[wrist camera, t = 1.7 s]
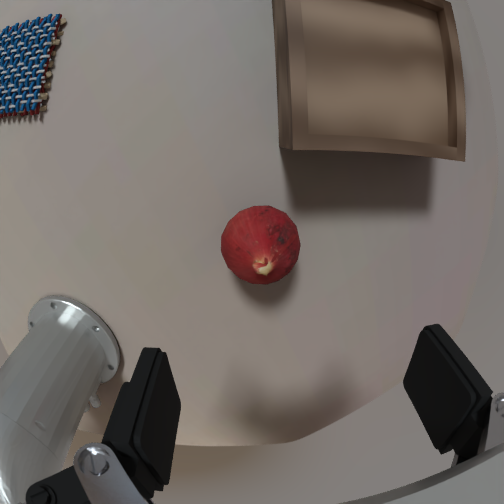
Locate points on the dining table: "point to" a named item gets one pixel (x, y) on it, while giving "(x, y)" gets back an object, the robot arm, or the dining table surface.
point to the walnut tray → (370, 77)
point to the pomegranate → (260, 244)
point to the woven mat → (27, 64)
